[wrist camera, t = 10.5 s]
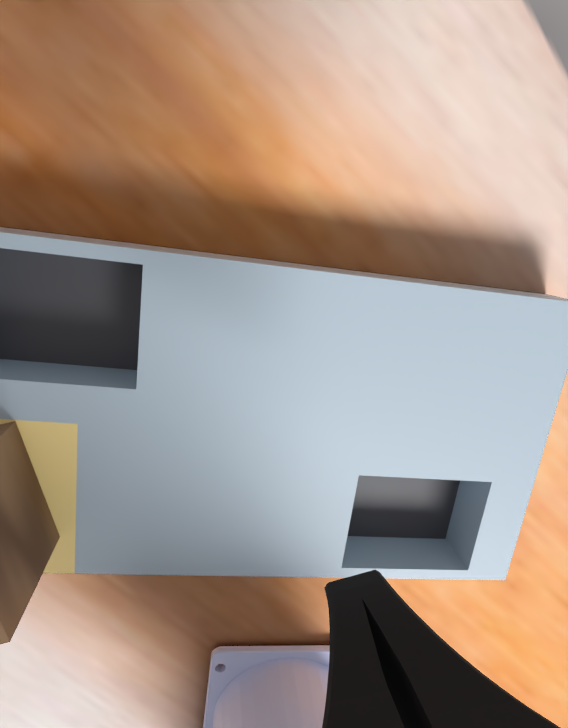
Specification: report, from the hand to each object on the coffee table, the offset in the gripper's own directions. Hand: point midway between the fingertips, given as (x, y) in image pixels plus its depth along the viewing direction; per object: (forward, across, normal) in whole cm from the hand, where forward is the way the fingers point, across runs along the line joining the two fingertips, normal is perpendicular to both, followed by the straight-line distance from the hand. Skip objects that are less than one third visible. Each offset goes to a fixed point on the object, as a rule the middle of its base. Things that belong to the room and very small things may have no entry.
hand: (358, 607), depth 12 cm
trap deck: (+10, +2, -2) cm, 11 cm away
